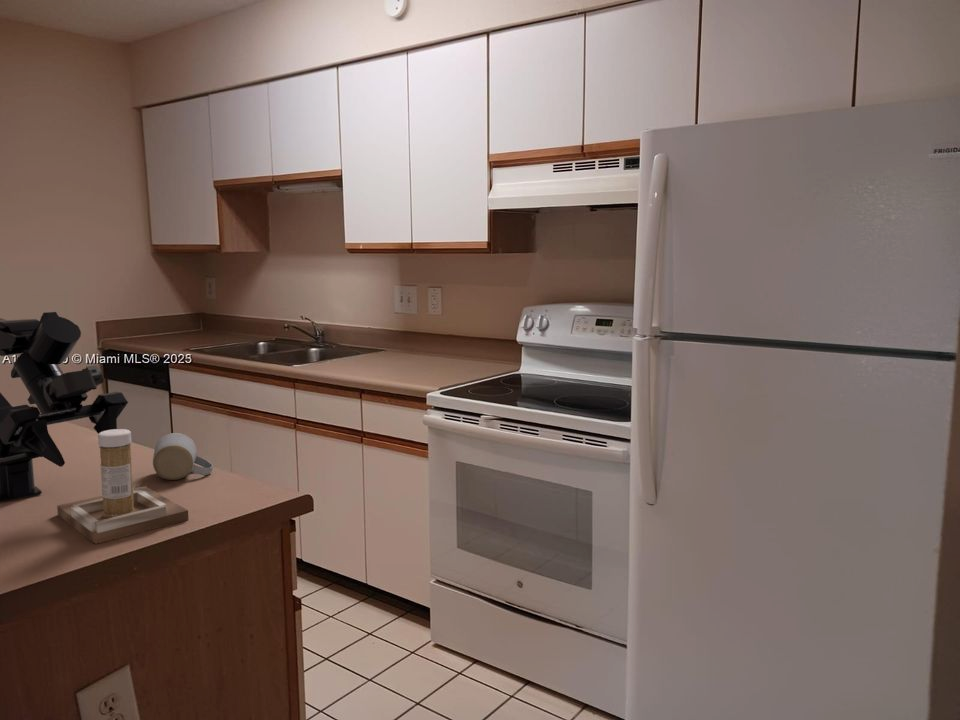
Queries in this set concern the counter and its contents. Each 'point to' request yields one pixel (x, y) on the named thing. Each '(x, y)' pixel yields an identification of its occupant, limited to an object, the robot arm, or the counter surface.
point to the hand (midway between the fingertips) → (91, 457)
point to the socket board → (122, 516)
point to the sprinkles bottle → (116, 472)
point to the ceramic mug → (178, 457)
